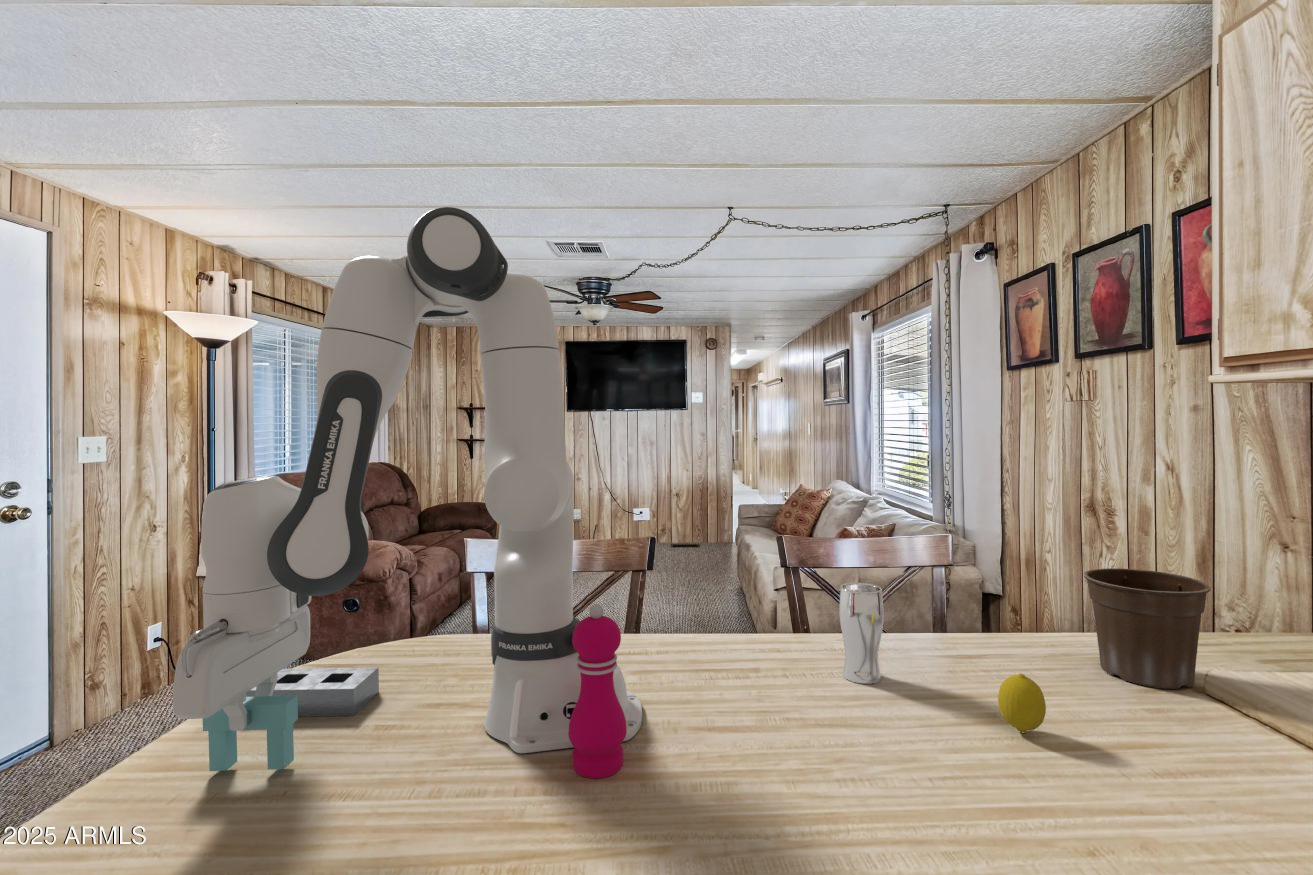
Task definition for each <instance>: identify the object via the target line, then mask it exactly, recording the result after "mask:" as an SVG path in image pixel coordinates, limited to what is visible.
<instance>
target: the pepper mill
mask: <svg viewBox="0 0 1313 875" xmlns="http://www.w3.org/2000/svg"><path fill="white" fill-rule="evenodd" d="M604 612H605V611H604V608H603V606H602V605H601V604H597V603H594V604H593V605H591V606H590V608H589V611H588V613H589V615H590V616H586V617H585V618H583V619H581V620H580V622H579V623H578V624H577V625H576V627H575V629H574V632H573V638H572V641H573V646H574V649H575V650H576V652H577V653H578V654H579V655H578V657H577V662H578V664H577V670H578V671H580V674H581V690H580V695H579V699H578V701H577V704H576V706H575V708H574V710H573V713H572V715H571V719H570V722H569V732H568V735H569V739H570V742H571V743H572V745H573V746H574V747H573V748H574V749H573V750H572V767H573V770H574V772H575V773H576V774H578V775H579V776H581V777H584V778H588V779H601V778H604V779H605V778H608V777H611V776H613V775H615V774H617V773H618V772H619V771H620V770H621V769H622V767H623V765H624V748H623V746H622V745H621V744H623V742H624V741H623V740H624V738H625V737H626V733H627V727H626V719H625V716H624V712H623V710H622V707H621V705H620V703H619V701H618V698H617V696H616V693H615V689H614V682H613V674H614V670H615V669H616V668H617V665H618V663H617V660H618V655H617V654H616V651H617V650H618V649H619V647H620V645H621V641H622V636H621V635H622V634H621V630H620V627H619V625H618V624H617V623H616V621H615V620H614V619H612V618H610V617H608V616H605V615H604Z"/></svg>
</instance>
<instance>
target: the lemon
mask: <svg viewBox="0 0 1313 875" xmlns="http://www.w3.org/2000/svg"><path fill="white" fill-rule="evenodd" d="M997 703H998V704H997V705H998V708H999V712H1000V714H1001V716H1002V718H1003V719H1004V720H1005V721H1006V723H1008V725H1010V726H1012V727H1013V728H1015V729H1016V730H1017V731H1018V732H1019V731H1020V732H1025V733H1027V732H1028V731H1033V730H1035V729H1038V728H1039V727H1040V726H1042V724H1043V722H1044V719H1045V717H1046V714H1047V713H1046V711H1047V707H1046V699H1045V696H1044V693H1043V691H1042V689H1041V688H1040V686H1039V685H1038V683H1036V682H1035V681H1034V680H1033V679H1031V678H1029V677H1027V676H1026V675H1025V674H1024V673H1018V674H1015V675H1010V676H1009V677H1007V678H1005V679H1004V680H1003V681H1002V682H1001V684H1000V686H999V690H998V696H997ZM1020 732H1019V733H1020Z"/></svg>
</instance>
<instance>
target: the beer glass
mask: <svg viewBox="0 0 1313 875" xmlns="http://www.w3.org/2000/svg"><path fill="white" fill-rule="evenodd" d="M883 599H884V598H883V588H881V586H879V585H876V584H872V583H866V582H847V583H843V584H841V585H840V593H839V624H840V630H841V636H842V639H843V640H842V642H843V646H844V664H843V668H842V676H843V677H844V679H846V680H847V679H848V681H849V680H850V681H849V682H852V683H855V682H856V684H862V685H872V683H874V684H877V683H879V682H880V681H881V680H882V675H881V674H882V673H881V669H880V663H879V651H880V644H881V641H882V633H883V629H884V628H883V626H884V600H883ZM878 681H879V682H878ZM876 682H877V683H876Z"/></svg>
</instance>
